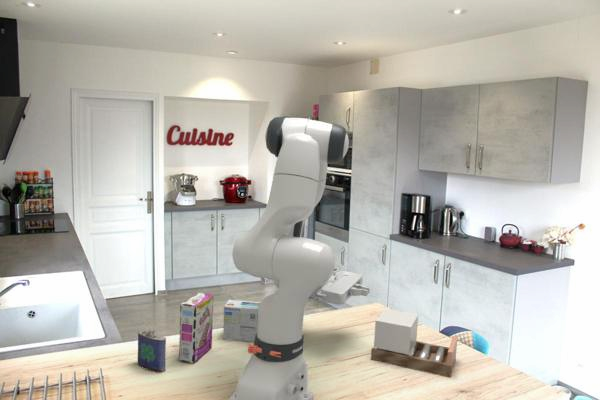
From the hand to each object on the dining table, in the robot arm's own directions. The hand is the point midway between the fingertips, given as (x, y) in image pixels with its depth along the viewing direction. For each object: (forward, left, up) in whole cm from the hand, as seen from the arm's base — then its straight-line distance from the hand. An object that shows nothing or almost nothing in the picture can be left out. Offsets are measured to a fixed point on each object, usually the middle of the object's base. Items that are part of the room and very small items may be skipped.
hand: (368, 292), depth 148 cm
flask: (-39, +47, -18) cm, 64 cm away
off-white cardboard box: (0, -9, -14) cm, 17 cm away
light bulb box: (-10, +36, -18) cm, 42 cm away
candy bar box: (-27, +41, -18) cm, 53 cm away
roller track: (0, -15, -18) cm, 23 cm away
